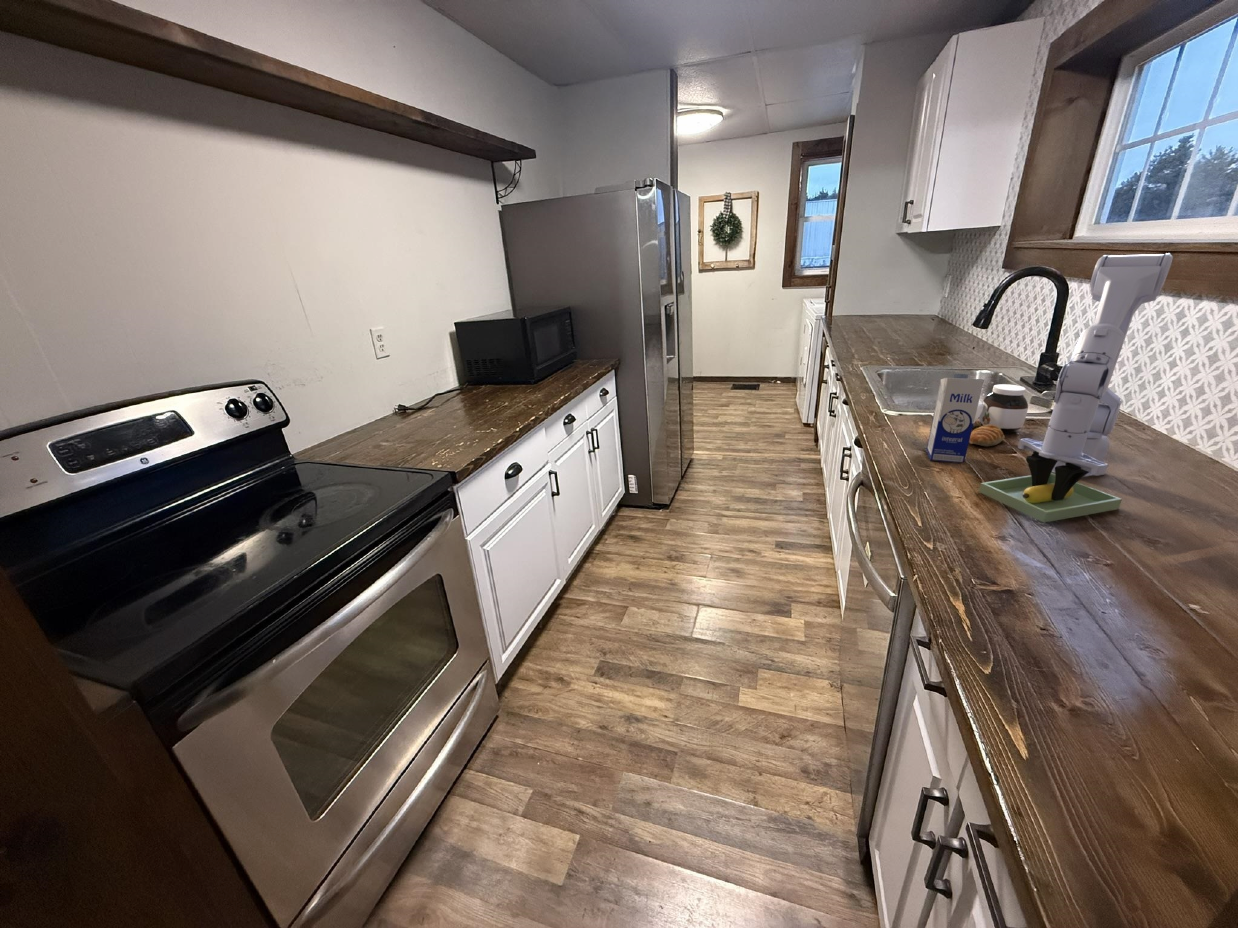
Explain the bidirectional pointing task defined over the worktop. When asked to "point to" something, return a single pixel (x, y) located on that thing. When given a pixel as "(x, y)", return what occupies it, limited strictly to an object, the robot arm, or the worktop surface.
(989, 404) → the spread jar
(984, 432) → the pastry
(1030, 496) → the banana
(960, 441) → the milk carton
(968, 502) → the worktop surface
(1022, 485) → the tray
